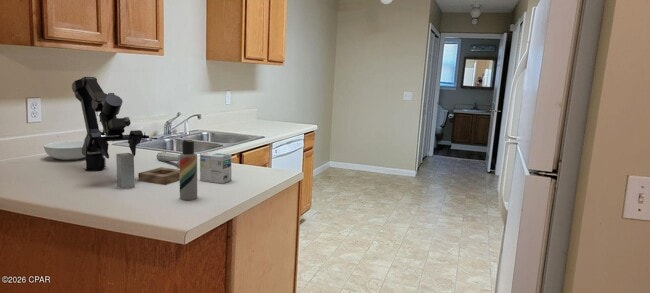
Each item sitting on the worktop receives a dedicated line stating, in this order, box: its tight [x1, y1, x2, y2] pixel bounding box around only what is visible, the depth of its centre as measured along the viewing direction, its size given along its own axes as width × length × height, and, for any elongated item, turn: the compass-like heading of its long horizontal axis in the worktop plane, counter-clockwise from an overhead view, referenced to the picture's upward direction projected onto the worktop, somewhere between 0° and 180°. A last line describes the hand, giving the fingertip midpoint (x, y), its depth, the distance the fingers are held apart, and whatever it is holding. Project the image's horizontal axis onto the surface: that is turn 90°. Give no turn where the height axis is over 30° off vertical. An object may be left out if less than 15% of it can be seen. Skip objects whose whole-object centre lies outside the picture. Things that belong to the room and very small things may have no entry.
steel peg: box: [115, 152, 135, 190], centre depth 159 cm, size 4×4×12 cm
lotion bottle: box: [178, 139, 198, 201], centre depth 147 cm, size 6×6×20 cm
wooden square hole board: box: [137, 166, 180, 186], centre depth 172 cm, size 12×12×3 cm
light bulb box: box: [199, 151, 232, 184], centre depth 173 cm, size 11×7×11 cm, turn 71°
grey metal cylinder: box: [156, 151, 180, 169], centre depth 201 cm, size 5×7×25 cm
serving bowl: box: [43, 140, 89, 161], centre depth 203 cm, size 21×21×7 cm
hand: (121, 156), depth 160 cm, fingers open, 9 cm apart
